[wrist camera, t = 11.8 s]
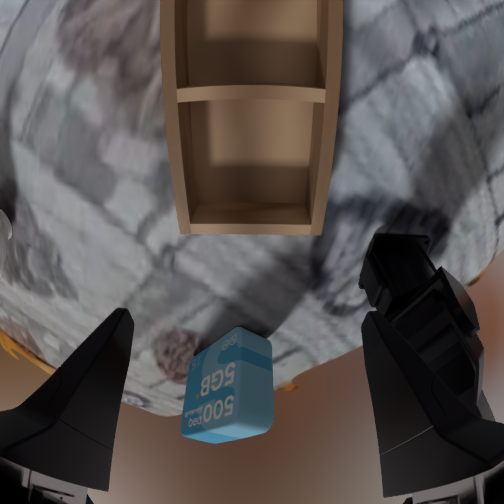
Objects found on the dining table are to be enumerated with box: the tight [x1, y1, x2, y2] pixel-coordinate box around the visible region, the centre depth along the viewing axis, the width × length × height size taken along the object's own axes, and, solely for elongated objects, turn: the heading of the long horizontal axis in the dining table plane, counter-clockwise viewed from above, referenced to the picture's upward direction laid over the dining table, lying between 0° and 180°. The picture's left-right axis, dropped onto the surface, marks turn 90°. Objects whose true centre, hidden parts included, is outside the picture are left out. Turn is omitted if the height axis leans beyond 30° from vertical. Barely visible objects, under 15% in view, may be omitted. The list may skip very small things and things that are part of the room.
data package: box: [181, 327, 274, 443], centre depth 29 cm, size 12×4×12 cm, turn 140°
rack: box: [160, 0, 343, 235], centre depth 12 cm, size 10×27×4 cm, turn 0°
